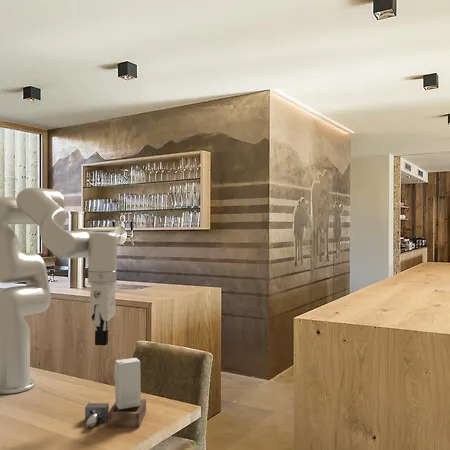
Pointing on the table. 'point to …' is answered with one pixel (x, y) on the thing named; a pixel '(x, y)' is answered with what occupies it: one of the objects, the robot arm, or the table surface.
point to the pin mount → (97, 407)
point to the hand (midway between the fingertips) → (101, 344)
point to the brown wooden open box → (127, 416)
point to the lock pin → (93, 419)
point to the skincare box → (127, 383)
